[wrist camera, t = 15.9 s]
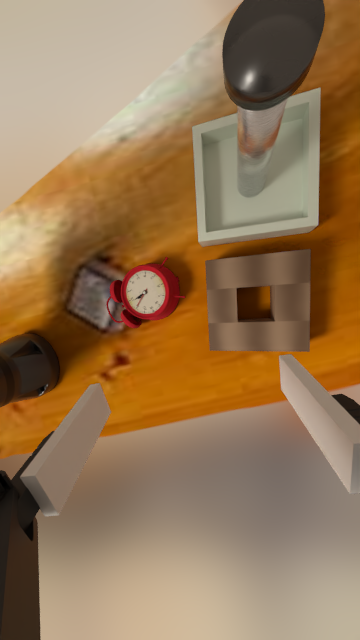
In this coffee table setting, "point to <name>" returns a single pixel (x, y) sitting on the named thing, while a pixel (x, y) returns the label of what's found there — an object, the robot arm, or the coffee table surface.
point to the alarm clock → (146, 293)
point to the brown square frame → (285, 301)
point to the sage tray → (281, 184)
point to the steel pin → (266, 75)
